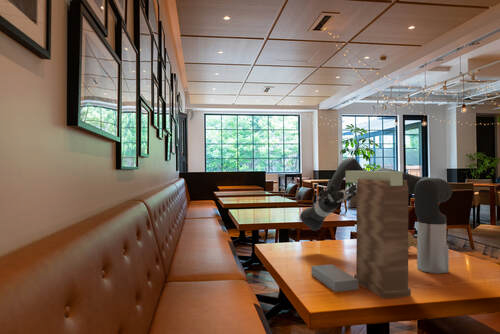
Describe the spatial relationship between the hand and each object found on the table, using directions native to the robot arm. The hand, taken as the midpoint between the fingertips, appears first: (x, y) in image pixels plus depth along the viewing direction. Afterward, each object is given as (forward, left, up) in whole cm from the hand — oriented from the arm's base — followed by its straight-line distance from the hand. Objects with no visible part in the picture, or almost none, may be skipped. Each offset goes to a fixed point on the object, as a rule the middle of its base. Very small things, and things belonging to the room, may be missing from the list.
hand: (344, 186), depth 120 cm
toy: (-30, -27, -30) cm, 50 cm away
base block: (+5, +16, -30) cm, 34 cm away
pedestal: (-9, +19, -30) cm, 37 cm away
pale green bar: (-7, +14, +2) cm, 16 cm away
